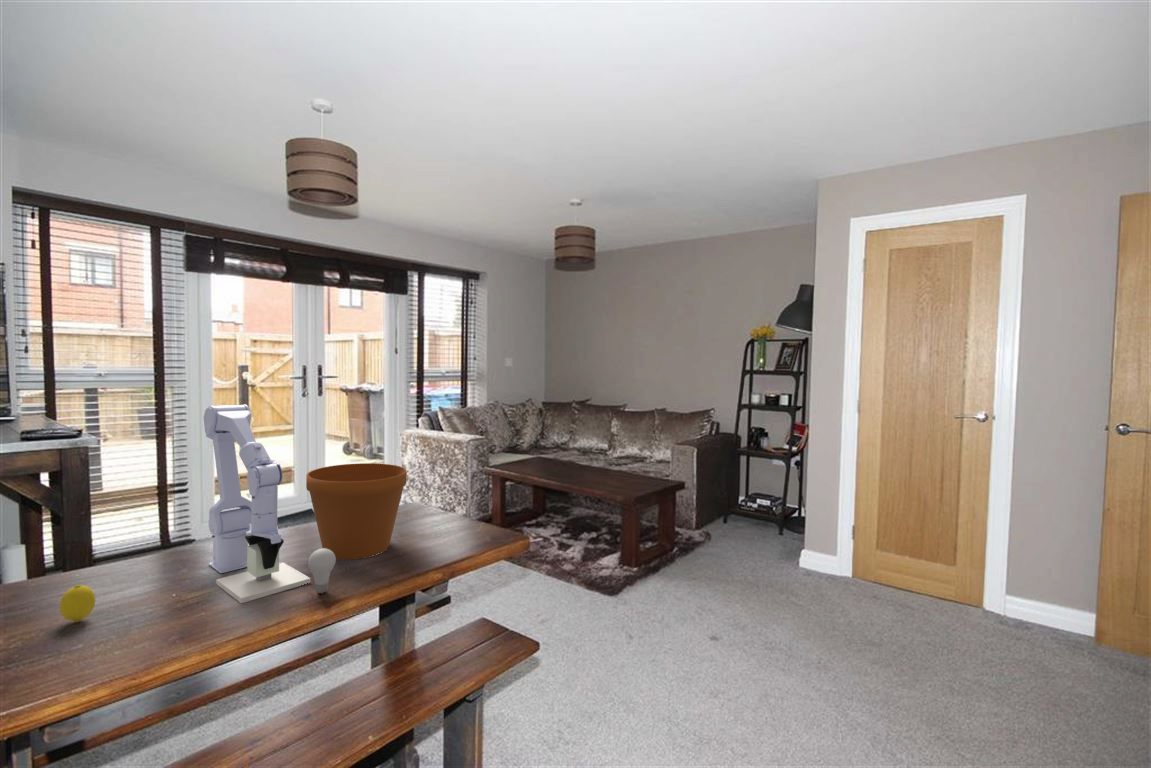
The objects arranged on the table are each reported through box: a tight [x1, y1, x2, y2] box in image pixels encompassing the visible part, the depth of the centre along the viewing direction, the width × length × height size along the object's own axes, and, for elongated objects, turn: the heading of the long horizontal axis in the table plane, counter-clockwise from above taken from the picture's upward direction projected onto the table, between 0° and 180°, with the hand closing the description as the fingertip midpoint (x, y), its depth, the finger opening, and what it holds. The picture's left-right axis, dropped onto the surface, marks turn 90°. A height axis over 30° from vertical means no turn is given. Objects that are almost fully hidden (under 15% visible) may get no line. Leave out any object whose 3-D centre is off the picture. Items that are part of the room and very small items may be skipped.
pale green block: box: [246, 544, 280, 577], centre depth 136 cm, size 5×5×7 cm
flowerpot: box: [305, 462, 408, 561], centre depth 163 cm, size 28×28×24 cm
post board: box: [215, 562, 311, 604], centre depth 137 cm, size 16×16×6 cm
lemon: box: [59, 584, 96, 623], centre depth 115 cm, size 6×6×8 cm
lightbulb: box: [307, 548, 337, 594], centre depth 132 cm, size 6×6×11 cm
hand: (263, 564), depth 137 cm, fingers closed on pale green block, 5 cm apart
